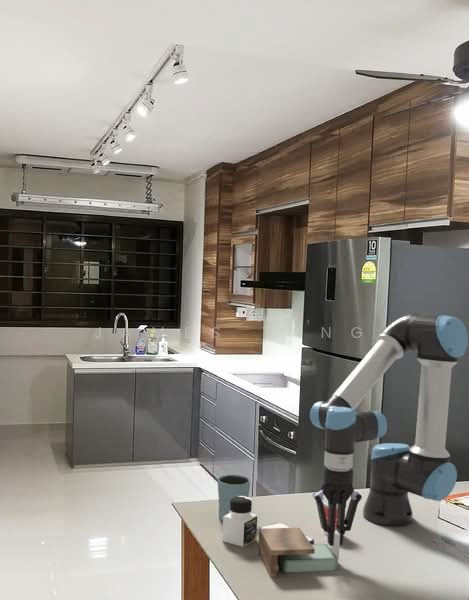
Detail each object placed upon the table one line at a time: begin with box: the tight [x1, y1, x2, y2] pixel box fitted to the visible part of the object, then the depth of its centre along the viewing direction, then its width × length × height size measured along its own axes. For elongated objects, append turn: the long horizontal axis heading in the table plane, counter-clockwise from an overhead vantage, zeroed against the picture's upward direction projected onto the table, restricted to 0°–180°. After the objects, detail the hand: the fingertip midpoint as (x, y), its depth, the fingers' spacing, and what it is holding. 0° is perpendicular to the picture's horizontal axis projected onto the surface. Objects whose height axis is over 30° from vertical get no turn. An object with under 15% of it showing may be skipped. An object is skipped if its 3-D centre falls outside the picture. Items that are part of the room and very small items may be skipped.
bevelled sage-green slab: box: [277, 543, 339, 573], centre depth 170 cm, size 14×9×3 cm, turn 100°
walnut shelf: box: [258, 527, 315, 578], centre depth 169 cm, size 11×14×7 cm
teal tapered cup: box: [217, 474, 251, 522], centre depth 200 cm, size 10×10×12 cm
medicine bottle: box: [221, 496, 258, 548], centre depth 183 cm, size 7×7×12 cm
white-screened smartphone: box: [259, 522, 315, 545], centre depth 187 cm, size 9×2×16 cm
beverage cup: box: [322, 499, 338, 537], centre depth 191 cm, size 6×6×14 cm
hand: (334, 556), depth 172 cm, fingers closed
